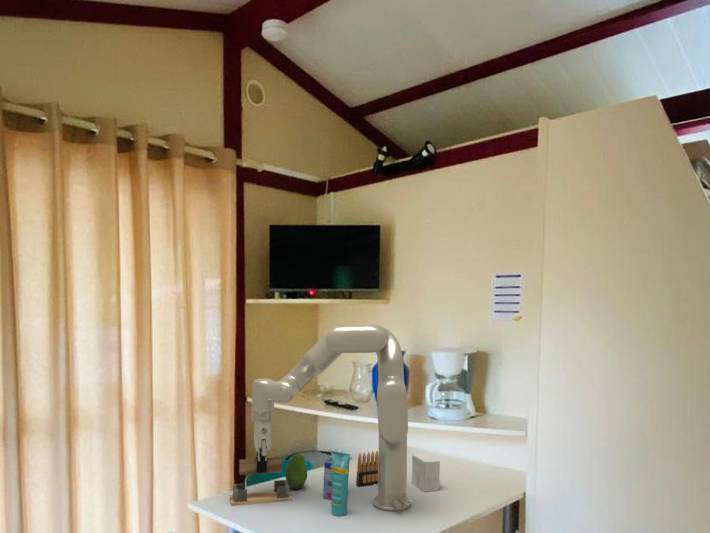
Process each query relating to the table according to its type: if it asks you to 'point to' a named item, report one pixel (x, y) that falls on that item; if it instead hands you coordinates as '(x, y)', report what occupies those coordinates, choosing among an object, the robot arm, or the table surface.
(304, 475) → the avocado
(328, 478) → the ink cartridge box
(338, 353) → the robot arm
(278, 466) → the slat
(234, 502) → the rail
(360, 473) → the ammunition clip
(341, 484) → the tube
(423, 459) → the skincare box
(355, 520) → the table surface
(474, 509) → the table surface
